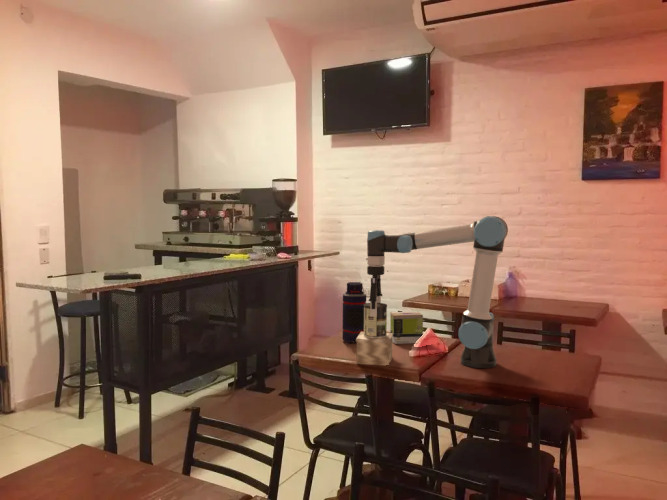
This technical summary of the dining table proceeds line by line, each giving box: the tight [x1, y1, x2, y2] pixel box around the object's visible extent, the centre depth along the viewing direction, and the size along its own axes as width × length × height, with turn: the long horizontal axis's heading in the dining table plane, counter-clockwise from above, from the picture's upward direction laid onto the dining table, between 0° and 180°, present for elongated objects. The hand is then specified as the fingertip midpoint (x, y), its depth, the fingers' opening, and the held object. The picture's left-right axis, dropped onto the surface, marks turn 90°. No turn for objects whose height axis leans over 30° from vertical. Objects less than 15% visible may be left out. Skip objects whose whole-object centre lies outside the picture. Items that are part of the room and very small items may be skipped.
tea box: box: [389, 311, 424, 345], centre depth 286 cm, size 15×10×15 cm, turn 94°
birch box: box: [356, 332, 393, 366], centre depth 250 cm, size 15×15×11 cm
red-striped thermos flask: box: [341, 281, 367, 344], centre depth 286 cm, size 14×12×30 cm
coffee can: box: [364, 302, 388, 338], centre depth 249 cm, size 10×10×14 cm
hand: (375, 313), depth 249 cm, fingers open, 13 cm apart
